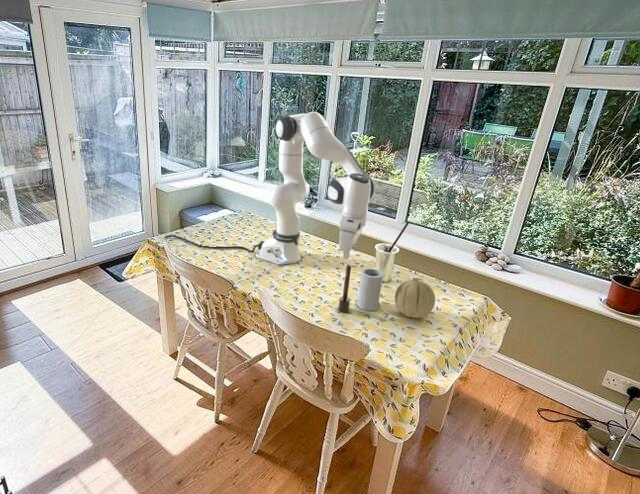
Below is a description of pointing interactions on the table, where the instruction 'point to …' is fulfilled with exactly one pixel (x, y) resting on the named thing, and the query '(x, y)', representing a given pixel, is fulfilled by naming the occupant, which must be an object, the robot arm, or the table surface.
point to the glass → (387, 257)
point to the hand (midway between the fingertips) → (349, 253)
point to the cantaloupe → (414, 298)
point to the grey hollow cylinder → (369, 289)
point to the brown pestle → (345, 292)
